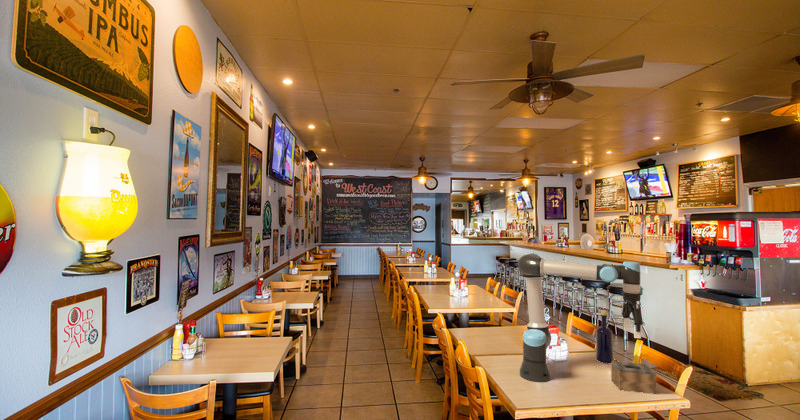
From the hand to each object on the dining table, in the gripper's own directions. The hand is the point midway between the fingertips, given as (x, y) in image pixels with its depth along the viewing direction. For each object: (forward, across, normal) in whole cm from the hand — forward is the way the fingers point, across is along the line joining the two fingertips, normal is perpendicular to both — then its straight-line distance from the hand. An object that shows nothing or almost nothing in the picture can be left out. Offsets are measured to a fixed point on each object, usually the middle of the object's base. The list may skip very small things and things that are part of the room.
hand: (631, 334), depth 186 cm
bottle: (+26, +38, +1) cm, 46 cm away
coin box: (+26, 0, 0) cm, 26 cm away
